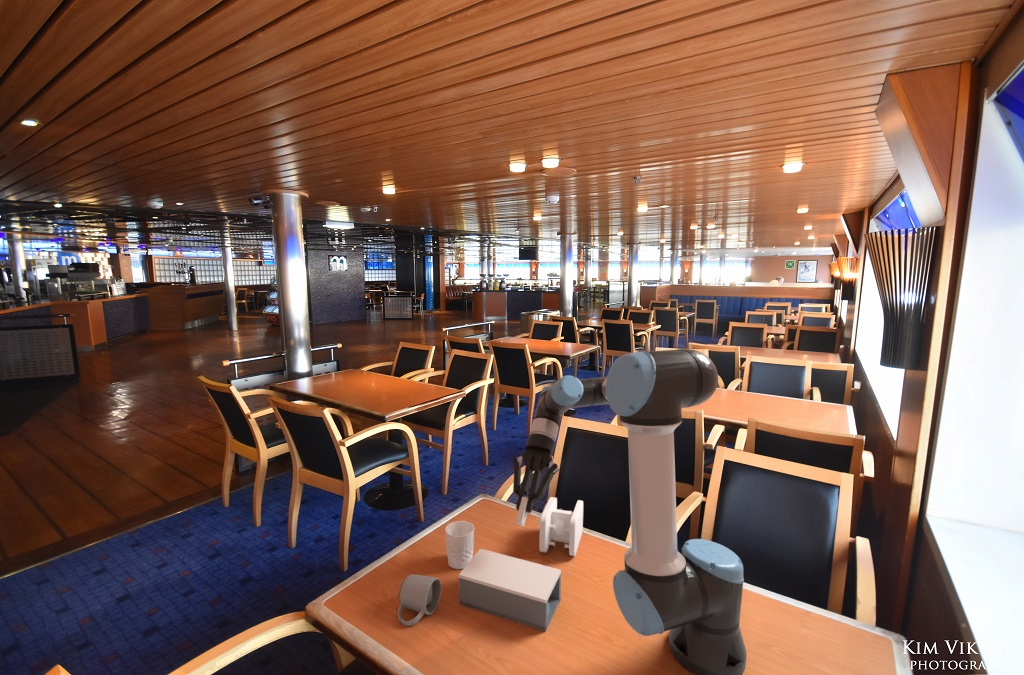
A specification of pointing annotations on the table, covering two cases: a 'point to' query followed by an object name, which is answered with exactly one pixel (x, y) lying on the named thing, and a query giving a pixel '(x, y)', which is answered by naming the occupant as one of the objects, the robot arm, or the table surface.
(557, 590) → the cable duct
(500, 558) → the panel
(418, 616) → the ceramic mug
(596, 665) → the table surface
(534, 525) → the table surface
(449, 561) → the white cup
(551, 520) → the cable organizer
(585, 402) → the robot arm
